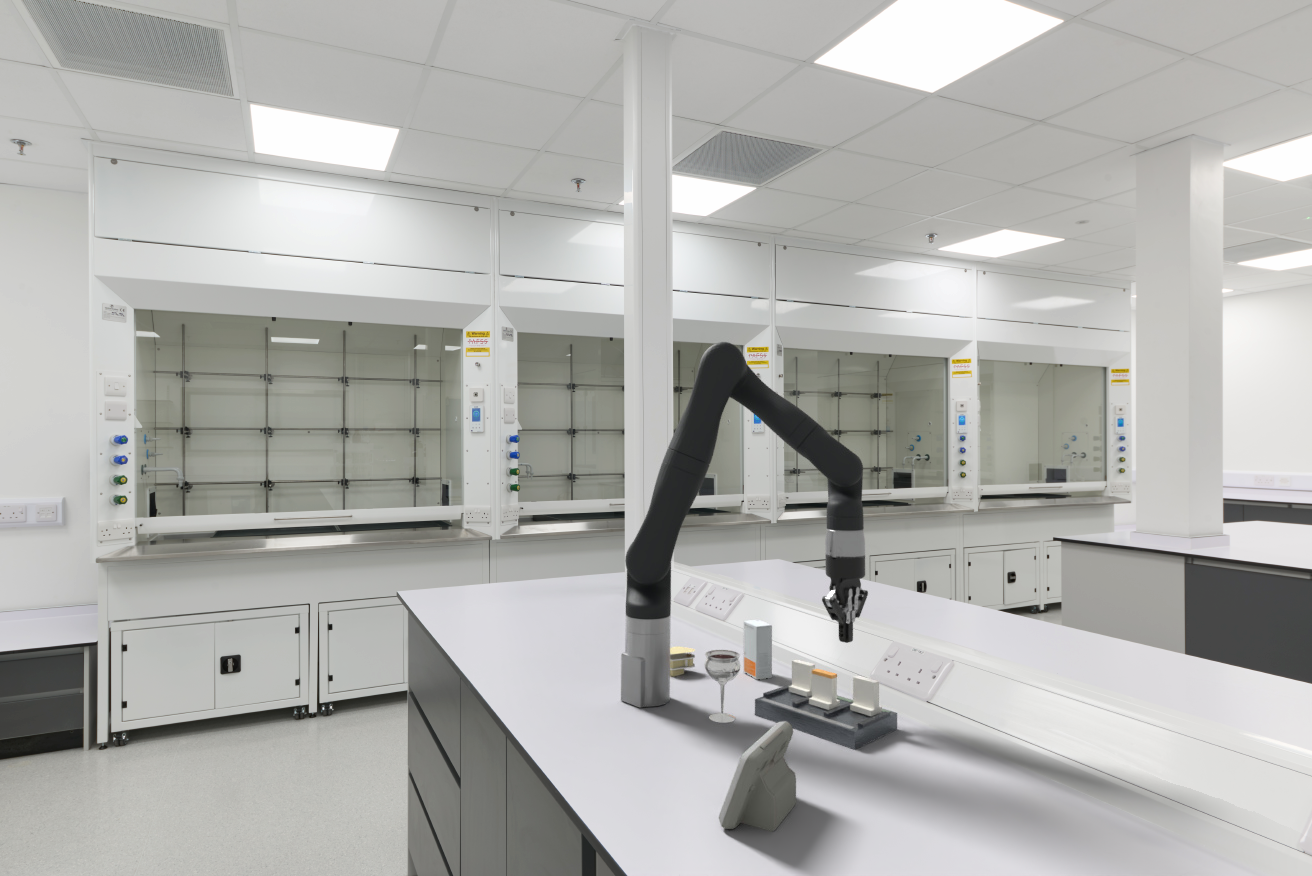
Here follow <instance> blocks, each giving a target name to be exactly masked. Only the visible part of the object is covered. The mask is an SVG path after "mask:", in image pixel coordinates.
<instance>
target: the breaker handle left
mask: <svg viewBox="0 0 1312 876" xmlns="http://www.w3.org/2000/svg"><path fill="white" fill-rule="evenodd" d="M814 669H816V664H815V663H812V662H808V661H803V660H799V659H795V660H791V684H792V685H791V686H789V692H792V693H796V694H799V695H802V696H806V697H808V696H811V695H812V670H814Z"/></svg>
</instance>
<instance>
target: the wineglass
mask: <svg viewBox="0 0 1312 876" xmlns="http://www.w3.org/2000/svg"><path fill="white" fill-rule="evenodd" d="M704 655H705V656H706V660H705V662H704V669H705V671H706V673H707V675H708V676H709V677H710V678H711V679H712V680H714V681H716V682H717V684H719V685H720V711H721V712H719V713H713V714H710V715H709V720H711V721H713V722H716V723H721V724H722V723H723V724H724V723H725V724H726V723H732V722H734V721H735V720H736V717H735V716H734V715H733V714H729V713H725V712H724V706H725V705H724V704H725V703H724V702H725V685H727V684H728V682H731V681H732V680H734V679H735V678H736V677H737V676H738V675H739V673H740V670H741V662H740V660H739V658H740V656H741V654H740V653H739V652H737V651H734V650H729V649H715V650H714V649H711V650H708V651H706V652H705V654H704Z"/></svg>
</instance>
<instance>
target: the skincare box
mask: <svg viewBox="0 0 1312 876" xmlns="http://www.w3.org/2000/svg"><path fill="white" fill-rule="evenodd" d="M772 662H773V625H772V624H770V623H768V622H766V621H763V620H760V619H750V620H743V667H742V668H743V673H744V672H745V673H744V674H746V673H747V674H746V675H748V676H749V675H750V677H751V676H752V677H751V678H753V679H755V680H756V679H760V680H767V679H766V678H768V679H772V677H773V663H772Z"/></svg>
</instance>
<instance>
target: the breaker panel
mask: <svg viewBox="0 0 1312 876" xmlns="http://www.w3.org/2000/svg"><path fill="white" fill-rule="evenodd" d="M791 685H792V683H790V684H787V685H784V686H780V687H777V688H775V689H771V690H769V691H766V692H763V693H762V694H763V695H762V696H759V697H757V698H755V699H754V715H755V716H757V717H760V718H763V719H766V720H769V721H771V722H772V721H773V722H774V723H776V724H777V723H778V722H784V721H787V722H788V723H789V724H790V725H791V726H792V728H793V730H797V731H801V732H804V733H806V734H809V735H811V736H814V737H817V738H821V739H823V740H826V741H829V742H832V743H835V744H838V745H840V746H843V747H847V748H849V749H852V750H857V749H859V748H861V747H863V746H865V745H867V744H870V743H872V742H874V741H876V740H877V739H880V738H883V737H884V736H886V735H888V734H891V733H892V732H894V731H897V730H898V712H896V711H892V710H889V709H886V708H882V712H881V713H878V714H876V715H874V716H868V715H865V714H862V713H858V712H855V711H852V710H850V704H853V699H851V698H847V697H844V696H841V695H838V694H837V700H840V706H838V707H835V708H832V709H830V710H827V709H824V708H821V707H818V706H814V705H811V704H809V698H812V695H811V696H808V697H806V696H802V695H799V694H796V693H792V692H789V686H791Z"/></svg>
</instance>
